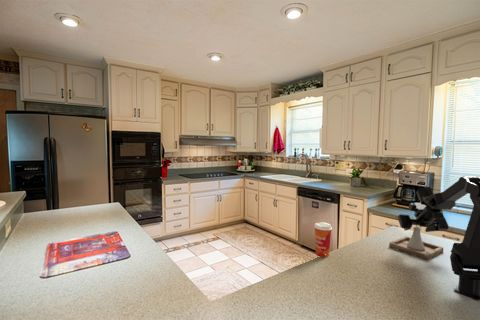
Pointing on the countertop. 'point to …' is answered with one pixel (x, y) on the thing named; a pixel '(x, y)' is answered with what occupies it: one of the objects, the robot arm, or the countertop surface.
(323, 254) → the paper cup
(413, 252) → the walnut tray
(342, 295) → the countertop surface
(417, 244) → the flask
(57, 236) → the countertop surface
